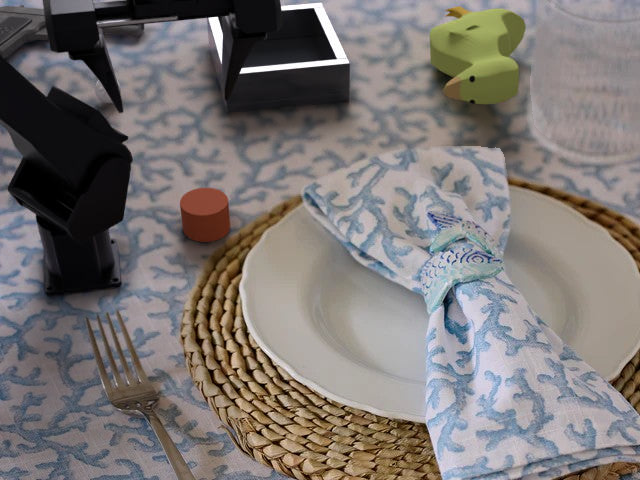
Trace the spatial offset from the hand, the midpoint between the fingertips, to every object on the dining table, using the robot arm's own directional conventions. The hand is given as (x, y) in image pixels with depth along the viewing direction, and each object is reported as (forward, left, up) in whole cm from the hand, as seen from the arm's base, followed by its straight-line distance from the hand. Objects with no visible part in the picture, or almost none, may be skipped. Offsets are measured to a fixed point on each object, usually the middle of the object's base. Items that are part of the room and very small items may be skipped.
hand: (173, 104), depth 89 cm
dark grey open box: (+24, -13, -11) cm, 30 cm away
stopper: (-3, -2, -11) cm, 12 cm away
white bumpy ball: (+22, +6, -12) cm, 25 cm away
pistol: (+31, +13, -10) cm, 35 cm away
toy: (+29, -33, -9) cm, 45 cm away
